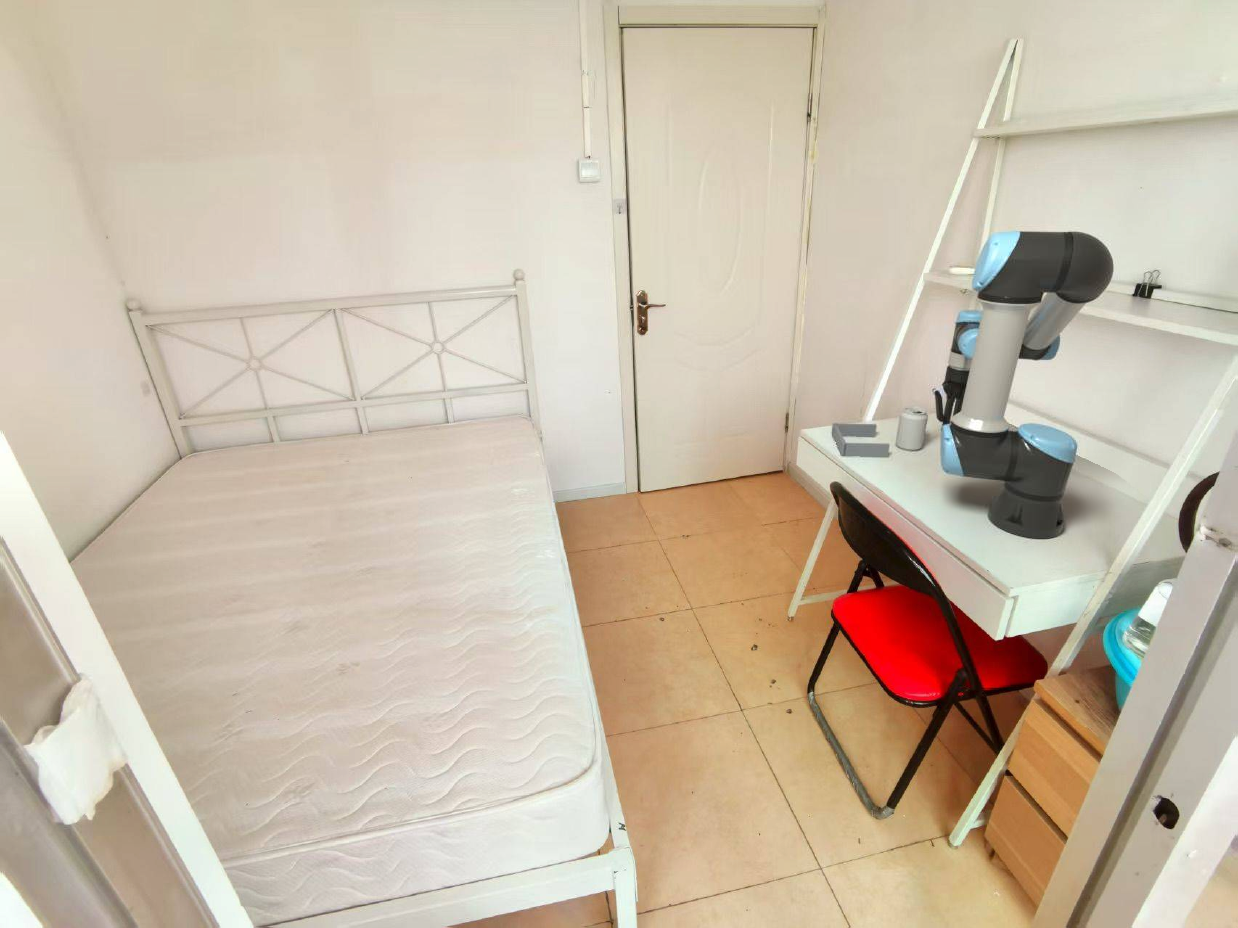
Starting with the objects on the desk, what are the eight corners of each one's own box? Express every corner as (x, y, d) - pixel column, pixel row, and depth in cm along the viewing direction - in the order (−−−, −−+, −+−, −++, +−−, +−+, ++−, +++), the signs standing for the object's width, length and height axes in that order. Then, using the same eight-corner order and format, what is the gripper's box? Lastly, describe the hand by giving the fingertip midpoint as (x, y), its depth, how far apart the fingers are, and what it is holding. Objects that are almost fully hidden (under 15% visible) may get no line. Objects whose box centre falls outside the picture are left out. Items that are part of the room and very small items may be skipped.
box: (887, 457, 182) (889, 444, 181) (841, 456, 184) (842, 444, 182) (874, 435, 197) (875, 424, 195) (831, 435, 198) (832, 423, 197)
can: (908, 453, 184) (915, 415, 179) (889, 444, 191) (895, 407, 185) (927, 449, 187) (935, 411, 182) (908, 440, 193) (914, 403, 188)
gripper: (981, 362, 179) (964, 438, 189) (933, 362, 181) (919, 437, 191) (992, 370, 172) (974, 448, 183) (942, 370, 174) (926, 447, 184)
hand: (946, 443), depth 187 cm, fingers closed
